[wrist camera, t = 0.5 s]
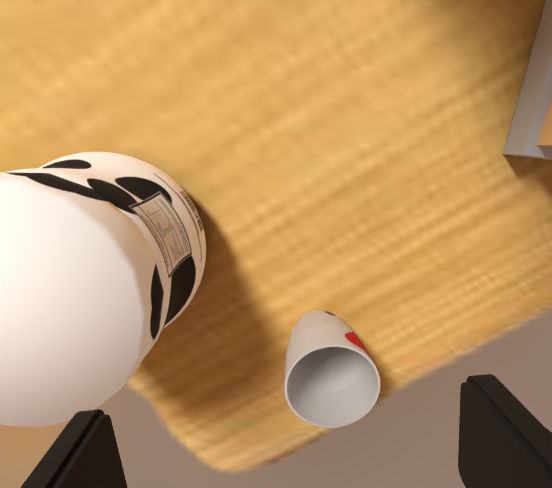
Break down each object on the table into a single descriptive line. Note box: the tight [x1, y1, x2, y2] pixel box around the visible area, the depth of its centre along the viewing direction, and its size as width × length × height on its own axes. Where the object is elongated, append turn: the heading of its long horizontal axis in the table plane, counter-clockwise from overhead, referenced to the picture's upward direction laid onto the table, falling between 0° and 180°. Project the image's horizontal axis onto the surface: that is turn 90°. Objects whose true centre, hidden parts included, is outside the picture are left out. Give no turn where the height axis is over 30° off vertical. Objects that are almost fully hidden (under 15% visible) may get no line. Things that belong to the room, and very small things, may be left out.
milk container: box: [0, 152, 206, 426], centre depth 30 cm, size 17×17×18 cm
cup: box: [284, 310, 380, 428], centre depth 36 cm, size 8×8×10 cm
